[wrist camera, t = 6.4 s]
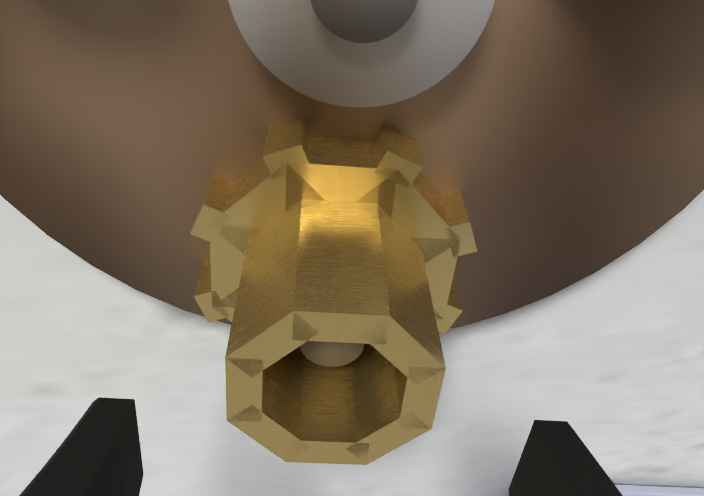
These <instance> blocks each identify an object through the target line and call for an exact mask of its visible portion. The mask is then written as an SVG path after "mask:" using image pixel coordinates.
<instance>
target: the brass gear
mask: <svg viewBox="0 0 704 496" xmlns="http://www.w3.org/2000/svg"><path fill="white" fill-rule="evenodd" d="M421 169H422V163H421V159H420V155H419V151H418V147H417V143H416V139H415V138H413V137H411V136H409V135H407V134H405V133H403V132H401V131H399V130H397V129H395V128H393V127H391V126H388V125H386V124H384V123H383V124H382V126H381V127H380V129H379V131H378V132H377V134H376V136H375V138H374V139H373V140H370V139H357V138H343V137H329V136H315V135H310V132H309V129H308V127H307V124H306V121H305V119H304V117H302V118H299V119H296V120H292V121H289V122H286V123H283V124H279V125H276V126H273V127H270V128H268V132H267V137H266V142H265V147H264V152H263V156H262V157H261V158H260V159H259V160H258V161H256V162H255V163H254V164H253V165H251V166H250V167H249V168H248V169H247V170H245V171H244V172H243V173H242V174H240V175H239V176H238V177H237V178H236V179H234V180H233V181H232V182H231V181H229V180H227V179H224V178H222V177H220V176H217V175H215V174H213V175H212V178H211V180H210V182H209V184H208V186H207V189H206V191H205V193H204V195H203V197H202V200H201V202H200V205H199V208H198V211H197V214H196V217H195V220H194V223H193V226H192V229H191V232H190V234H191V235H194V236H197V237H199V238H202V239H204V240H207V241H209V242H210V260H208V261H205V262H203V264H202V268H201V272H200V275H199V279H198V282H197V286H196V290H195V293H194V298H195V300H196V301H197V303H198V305H199V307H200V308H201V310H202V312H203V314H204V315H205V317H206V319H207V321H208V322H211V321H215V320H219V319H223V318H227V319H228V320H229V321H231V322H232V326H231V331H230V336H229V341H228V347H227V352H226V357H225V363H226V404H227V421H228V422H230V423H231V424H233V425H234V426H235V427H237V428H238V429H240V430H241V431H243V432H244V433H245V434H247V435H248V436H250V437H251V438H253V439H254V440H255V441H257V442H258V443H260V444H261V445H263V446H264V447H265V448H267V449H268V450H270V451H271V452H273V453H274V454H275V455H277V456H278V457H280V458H281V459H283V460H284V461H285V462H308V463H335V464H363V465H366V464H368V463H370V462H372V461H374V460H376V459H377V458H379V457H381V456H383V455H385V454H386V453H388V452H390V451H392V450H394V449H396V448H397V447H399V446H401V445H403V444H405V443H406V442H408V441H410V440H412V439H414V438H416V437H417V436H419V435H421V434H423V433H425V432H426V431H428V430H430V429H431V428H432V424H433V420H434V415H435V411H436V407H437V403H438V398H439V394H440V390H441V386H442V381H443V377H444V373H445V369H446V368H445V363H444V358H443V353H442V348H441V343H440V338H439V333H438V332H440V333H442V334H445V333H446V332H447V331H448V329H449V328H450V327H451V326H452V324H453V323H454V322H455V320H456V319H457V318H458V317H459V315H460V314H461V313H462V312H463V309H462V305H461V301H460V297H459V293H458V289H457V286H456V282H455V278H454V276H453V275H454V271H455V266H456V262H457V257H458V256H462V255H465V254H469V253H473V252H477V248H476V244H475V240H474V236H473V232H472V228H471V224H470V220H469V217H468V214H467V211H466V208H465V205H464V202H463V199H462V196H461V193H460V190H459V191H456V192H452V193H448V194H445V195H440V194H439V193H438V192H437V190H436V189H435V188H434V187H433V186H432V185H431V184H430V182H429V181H428V180H427V179H426V178H425V177H424V176H423V175H422V173H421V172H420V170H421ZM307 341H321V342H341V343H361V344H364V348H363V351H362V353H361V354H360V355H359V357H358V358H356V359H355V360H354V361H352V362H350V363H348V364H346V365H343V366H338V367H326V366H321V365H318V364H315V363H313V362H312V361H310V360H309V359H307V358H306V357H305V355H304V354H303V353H302V351H301V348H300V346H301V345H302V344H304V343H305V342H307Z"/></svg>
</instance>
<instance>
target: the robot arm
mask: <svg viewBox="0 0 704 496" xmlns="http://www.w3.org/2000/svg"><path fill="white" fill-rule="evenodd" d="M142 478H143V467H142V459H141V450H140V442H139V434H138V426H137V417H136V409H135V401H134V399H115V398H98V399H96V400H95V401H94V402H93V403H92V404H91V406H90V407H89V408H88V410H87V411H86V412H85V414H84V415H83V417H82V418H81V419H80V421H79V422H78V423H77V425H76V426H75V427H74V429H73V430H72V431H71V433H70V434H69V435H68V437H67V438H66V439H65V440H64V442H63V443H62V444H61V446H60V447H59V448H58V449H57V451H56V452H55V453H54V454H53V456H52V457H51V458H50V459H49V461H48V462H47V463H46V465H45V466H44V467H43V468H42V469H41V471H40V472H39V473H38V474H37V475H36V477H35V478H34V479H33V480H32V481H31V482H30V484H29V485H28V486H27V487H26V488H25V490H24V491H23V492H22V493H21V494H20V496H139V493H140V488H141V483H142ZM509 496H704V488H690V487H665V486H641V485H617V484H614V483H613V482H612V481H611V479H610V478H609V477H608V475H607V474H606V473H605V471H604V470H603V469H602V467H601V466H600V465H599V463H598V462H597V461H596V459H595V458H594V457H593V455H592V454H591V453H590V451H589V450H588V449H587V447H586V446H585V445H584V443H583V442H582V441H581V439H580V438H579V437H578V435H577V434H576V433H575V431H574V430H573V429H572V427H571V426H570V425H569V424H568V422H564V421H544V420H534V423H533V426H532V428H531V431H530V434H529V436H528V439H527V442H526V444H525V447H524V450H523V452H522V455H521V458H520V461H519V463H518V466H517V469H516V471H515V474H514V477H513V479H512V482H511V485H510V487H509Z"/></svg>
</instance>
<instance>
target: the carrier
mask: <svg viewBox="0 0 704 496" xmlns="http://www.w3.org/2000/svg"><path fill="white" fill-rule="evenodd" d="M302 117H304V119H305V121H306V124H307V127H308V129H309V132H310V135H315V136H329V137H343V138H357V139H370V140H373V139H374V138H375V136H376V134H377V132H378V131H379V129H380V127H381V126H382V124H383V123H384V124H386V125H388V126H391V127H393V128H395V129H397V130H399V131H401V132H403V133H405V134H407V135H409V136H411V137H413V138H415V139H416V143H417V147H418V151H419V155H420V159H421V163H422V169H421V170H420V172H421V173H422V175H423V176H424V177H425V178H426V179H427V180H428V181H429V182H430V184H431V185H432V186H433V187H434V188H435V189H436V190H437V192H438V193H439V194H440V195H445V194H448V193H452V192H456V191H459V190H460V193H461V196H462V199H463V202H464V205H465V208H466V211H467V214H468V217H469V220H470V224H471V228H472V232H473V236H474V240H475V244H476V248H477V252H473V253H469V254H465V255H462V256H458V257H457V262H456V266H455V271H454V275H453V276H454V278H455V282H456V286H457V289H458V293H459V297H460V301H461V305H462V309H463V312H462V313H461V314H460V315H459V317H458V318H457V319H456V320H455V322H454V323H453V324H452V326H451V327H450V328H455V327H460V326H464V325H467V324H470V323H474V322H477V321H481V320H484V319H488V318H491V317H494V316H498V315H501V314H505V313H508V312H510V311H513V310H515V309H518V308H520V307H523V306H525V305H528V304H530V303H533V302H535V301H538V300H540V299H543V298H545V297H547V296H550V295H552V294H554V293H556V292H558V291H560V290H562V289H564V288H566V287H568V286H570V285H572V284H573V283H575V282H577V281H579V280H581V279H583V278H585V277H587V276H589V275H591V274H593V273H595V272H597V271H598V270H600V269H601V268H603V267H604V266H606V265H607V264H609V263H610V262H612V261H614V260H615V259H617V258H618V257H620V256H621V255H623V254H624V253H626V252H627V251H629V250H631V249H632V248H634V247H635V246H637V245H638V244H640V243H641V242H642V241H644V240H645V239H646V238H647V237H649V236H650V235H651V234H653V233H654V232H655V231H656V230H658V229H659V228H660V227H661V226H663V225H664V224H665V223H666V222H668V221H669V220H670V219H671V218H673V217H674V216H675V215H676V214H678V213H679V212H680V211H682V210H683V209H684V208H685V207H686V206H687V205H688V204H689V203H690V202H691V201H692V200H693V199H694V198H695V197H696V196H697V195H698V194H699V193H700V192H702V191H703V190H704V0H0V195H1V196H2V197H3V198H4V199H6V200H7V201H8V202H9V203H10V204H11V205H13V206H14V207H15V208H16V209H17V210H19V211H20V212H21V213H22V214H23V215H25V216H26V217H27V218H28V219H29V220H30V221H32V222H33V223H34V224H35V225H36V226H38V227H39V228H40V229H41V230H42V231H44V232H45V233H46V234H47V235H48V236H50V237H51V238H53V239H54V240H56V241H57V242H59V243H60V244H62V245H63V246H64V247H66V248H67V249H69V250H70V251H72V252H73V253H75V254H76V255H78V256H79V257H81V258H82V259H83V260H85V261H86V262H88V263H89V264H91V265H92V266H94V267H96V268H98V269H100V270H101V271H103V272H105V273H107V274H109V275H110V276H112V277H114V278H116V279H118V280H120V281H121V282H123V283H125V284H127V285H129V286H131V287H132V288H134V289H136V290H138V291H140V292H143V293H145V294H147V295H150V296H152V297H154V298H157V299H159V300H161V301H164V302H166V303H169V304H171V305H173V306H176V307H178V308H180V309H183V310H185V311H189V312H192V313H195V314H198V315H201V316H205V315H204V314H203V312H202V310H201V308H200V307H199V305H198V303H197V301H196V300H195V298H194V293H195V290H196V286H197V282H198V279H199V275H200V272H201V268H202V264H203V262H205V261H208V260H210V242H209V241H207V240H204V239H202V238H199V237H197V236H194V235H191V234H190V232H191V229H192V226H193V223H194V220H195V217H196V214H197V211H198V208H199V205H200V202H201V200H202V197H203V195H204V193H205V191H206V189H207V186H208V184H209V182H210V180H211V178H212V175H213V174H215V175H217V176H220V177H222V178H224V179H227V180H229V181H231V182H232V181H233V180H234V179H236V178H237V177H238V176H239V175H240V174H242V173H243V172H244V171H245V170H247V169H248V168H249V167H250V166H251V165H253V164H254V163H255V162H256V161H258V160H259V159H260V158H261V157H262V156H263V152H264V147H265V142H266V137H267V132H268V128H270V127H273V126H276V125H279V124H283V123H286V122H289V121H292V120H296V119H299V118H302ZM217 321H221V322H224V323H227V324H231V325H232V322H231V321H229V320H228V319H227V318H223V319H219V320H217ZM300 348H301V351H302V353H303V354H304V355H305V357H306V358H307V359H309V360H310V361H312V362H313V363H315V364H318V365H321V366H326V367H338V366H343V365H346V364H348V363H350V362H352V361H354V360H355V359H356V358H358V357H359V355H360V354H361V353H362V351H363V348H364V344H361V343H341V342H321V341H307V342H305V343H304V344H302V345H301V346H300Z"/></svg>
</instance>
